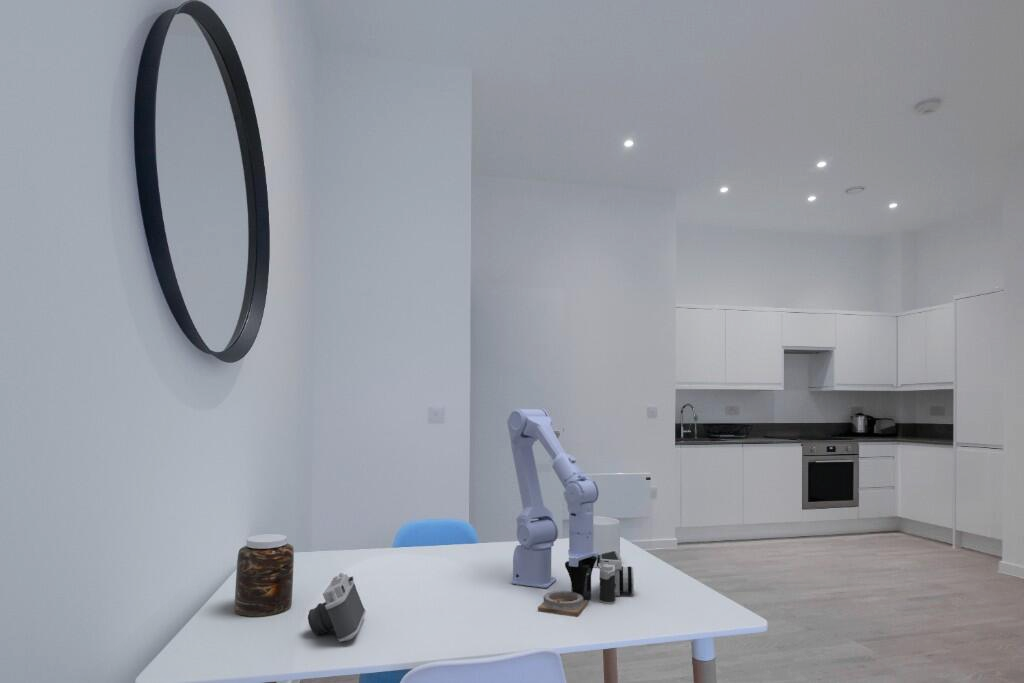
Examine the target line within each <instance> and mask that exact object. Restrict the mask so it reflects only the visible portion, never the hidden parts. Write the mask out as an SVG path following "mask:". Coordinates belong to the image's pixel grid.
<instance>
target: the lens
mask: <svg viewBox="0 0 1024 683" xmlns="http://www.w3.org/2000/svg"><path fill="white" fill-rule="evenodd" d="M570 584H571V583H570ZM570 592H573V589H572V584H571V590H570ZM582 597H583V600H588V602H589V601H591V600H592V574H591V567H589V569H588V572H587V575H586V579H585V587H584V592H583V595H582Z"/></svg>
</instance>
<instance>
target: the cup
mask: <svg viewBox="0 0 1024 683" xmlns="http://www.w3.org/2000/svg"><path fill="white" fill-rule="evenodd" d="M593 550H594V551H598V555H601V554H604V553H605V552H612V551H616V552H617V553H618V554H619V555H620V556H621V521H620V520H619V519H617V518H615V517H614V518H613V517H610V516H609V517H607V516H593ZM596 557H597V556H596ZM593 569H599V567H598V566H597V560H596V562H595V564H594V567H593Z"/></svg>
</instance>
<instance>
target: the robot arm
mask: <svg viewBox="0 0 1024 683" xmlns="http://www.w3.org/2000/svg"><path fill="white" fill-rule="evenodd" d="M506 422H507V428H508V433H509V434H508V435H509V438H510V447H511V452H512V457H513V463H514V467H515V473H516V477H517V478H516V479H517V482H518V489H519V494H520V499H521V504H522V511H521V513H519V515H517V517H516V525H517V526H516V538H517V541H518V543H519V544H517V545H516V546H515V548H514V550H513V555H512V557H513V558H512V581H511V584H512V585H519V586H525V587H526V586H527V587H528V586H529V587H534V588H543V589H548V588H549V587H550V586H551V585H552V584H554V583H555V582H556V581H557V578H556V577H552V547H554V542H556V541H557V540H558V536H559V528H558V524H557V523H556V521H555V519H554V514H553V512H552V511H551V510H550V509H549V508H548V507H546V506H545V505H544V502H543V501H544V500H543V495H542V491H541V490H542V489H541V486H540V480H539V474H538V469H537V465H536V460H535V455H534V451H533V445H535V442H537V441H539V442H540V444H541V445H542V447H543V448H544V450H545V451H546V452H547V453H548V455H549V456H550V458H551V460H552V461H553V462H552V466H551V467H552V470H553V471H554V473H555V474H556V476H557V477H558V479H559V481H560V483H561V484H562V486H563V487H564V489H565V490H564V491H563V496H564V500H565V502H566V504H567V505H566V506H567V510H568V512H569V516H568V518H569V521H568V522H569V523H568V526H569V527H568V528H569V529H568V530H569V532H568V534H569V536H568V537H569V538H568V541H569V542H568V543H569V545H568V547H569V548H568V553H567V554H568V556H569V557H568V560H567V561H565V562H564V567H565V569H566V571H567V573H568V576H569V578H570V584H572V589H573V592H575V593H578V594H581V595H583V592H584V587H585V579H586V575H587V572H588V569H589V567H591V575H592V573H593V569H594V568H593V567H594V564H595V562H596V560H597V557H596V556H598V551H594V550H593V517H594V504H595V503H596V502H597V501H598V498H599V495H600V494H599V487H598V485H597V483H596V481H595V480H593V479H592V478H589V477H588V476H587V475H585V474H584V472H583V470H582V469H581V468H580V466H579V464H578V462H577V459H576V458H575V456H573V455H572V454H569V453H566V452H565V450H564V448H563V447H562V445H561V443H560V440H559V439H558V437H557V435H556V433H555V430H554V429H553V428H552V422H553V420H552V418H551V417H550V415H549V413H548V411H547V410H545V409H544V408H537V409H536V408H533V409H532V408H514V409H513V410H511V412H510V414H509V416H508V419H507V421H506Z"/></svg>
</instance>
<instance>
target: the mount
mask: <svg viewBox="0 0 1024 683" xmlns="http://www.w3.org/2000/svg"><path fill="white" fill-rule="evenodd" d="M588 605H589V601H588V600H583V597H582V595H581V594H578V593H575V592H571V591H567V590H554V591H549V592H546V593H545V594H543V601H542V602H541V603H540V604H539V606H537V611H538V612H542V613H549V614H556V615H557V614H558V615H563V616H570V617H579V616H580V614H582V612H583V611H584V610H585V608H586V607H587V606H588Z"/></svg>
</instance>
